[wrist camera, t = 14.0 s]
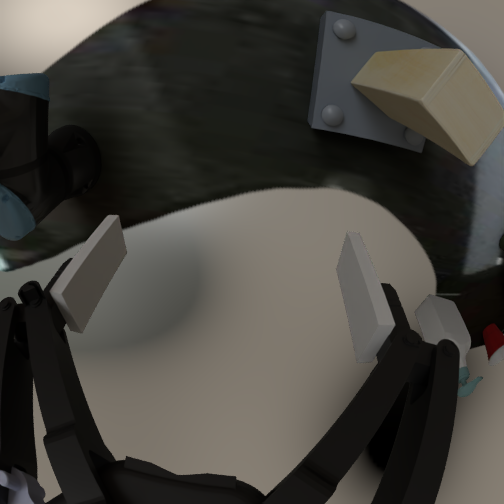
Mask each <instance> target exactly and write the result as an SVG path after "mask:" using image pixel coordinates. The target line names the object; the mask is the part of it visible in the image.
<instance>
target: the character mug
mask: <svg viewBox="0 0 504 504" xmlns="http://www.w3.org/2000/svg"><path fill="white" fill-rule="evenodd" d="M500 248H501V249H502V250H503V251H504V235H503V237H502V238H501V240H500Z"/></svg>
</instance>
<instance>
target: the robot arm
mask: <svg viewBox="0 0 504 504" xmlns="http://www.w3.org/2000/svg"><path fill="white" fill-rule="evenodd" d="M49 102H50V98H49V78H48V77H47V76H46V75H45V74H43V73H32V74H17V75H7V76H0V235H1V236H2V237H4V238H6V239H8V240H19V239H21V238H23V237H24V236H25V235H26V234H27V233H28V232H30V231H32V230H33V229H34V228H35V227H36V226H37V225H38V224H39V223H40V222H41V221H42V220H43V219H44V218H45V217H46V216H47V215H48V214H49V213H50V212H51V211H52V210H53V209H55V208H56V207H57V206H58V205H59V204H60V203H61V202H62V201H63V200H67V199H70V198H73V197H77V196H80V195H82V194H84V193H86V192H87V191H88V190H89V189H90V188H92V187H93V186H94V184H95V183H96V182H97V180H98V177H99V174H100V170H101V159H100V153H99V150H98V147H97V145H96V143H95V141H94V139H93V138H92V137H91V135H90V134H89V133H88V132H87V131H85V130H84V129H82V128H81V127H78V126H75V125H66V126H63V127H61V128H59V129H57V130H55V131H53V132H52V133H51V134H50V135H49V136H48V106H49ZM126 254H127V251H126V246H125V242H124V238H123V233H122V228H121V224H120V219H119V215H108V216H107V217H106V218H105V219H104V220H103V222H102V223H101V224H100V225H99V226H98V228H97V229H96V230H95V231H94V232H93V234H92V235H91V236H90V237H89V239H88V240H87V241H86V242H85V244H84V245H83V246H82V247H81V249H80V250H79V251H78V253H77V254H76V255H75V257H74V258H70V259H68V260H67V261H66V262H64V263H63V264H62V266H61V267H60V268H59V270H58V271H57V272H56V274H55V276H54V277H53V278H52V279H51V281H50V282H49V283H48V285H47V286H46V288H45V289H44V291H43V290H42V289H41V286H40V284H39V283H38V282H37V281H29V282H27V283H25V284H24V285H23V286H22V287H21V288H20V290H19V292H18V296H19V297H20V299H21V301H22V304H17V303H16V301H15V300H14V298H12V297H7V298H5V299H3V300H2V301H1V302H0V504H325V503H326V502H327V501H328V499H329V498H330V497H331V496H332V495H333V493H334V492H335V490H336V487H337V485H338V483H339V482H340V480H341V479H342V478H343V477H344V475H345V474H346V473H347V472H348V470H349V469H350V468H351V466H352V465H353V464H354V462H355V461H356V460H357V458H358V457H359V455H360V454H361V453H362V451H363V450H364V449H365V447H366V446H367V444H368V443H369V441H370V440H371V439H372V437H373V435H374V434H375V432H376V431H377V429H378V428H379V426H380V425H381V423H382V422H383V420H384V418H385V417H386V415H387V413H388V412H389V410H390V408H391V407H392V405H393V403H394V401H395V400H396V398H397V396H398V395H399V393H400V391H401V389H402V387H403V385H404V383H405V382H410V386H409V391H408V396H407V399H406V404H405V408H404V411H403V416H402V419H401V423H400V427H399V430H398V433H397V436H396V440H395V443H394V446H393V449H392V452H391V455H390V458H389V461H388V463H387V466H386V469H385V472H384V474H383V477H382V479H381V482H380V484H379V487H378V489H377V492H376V494H375V496H374V499H373V501H372V503H371V504H434V503H435V500H436V497H437V494H438V491H439V488H440V484H441V481H442V477H443V473H444V470H445V466H446V461H447V457H448V452H449V448H450V442H451V437H452V431H453V426H454V418H455V412H456V403H457V394H458V383H459V366H460V352H459V348H458V347H457V345H456V344H455V343H454V342H453V341H451V340H449V339H442V340H440V341H439V342H438V344H437V345H435V344H431V343H428V342H424V341H422V338H421V337H420V336H419V334H418V333H416V332H415V331H414V330H411V329H410V326H409V323H408V321H407V318H406V315H405V313H404V310H403V308H402V307H401V302H400V301H399V297H398V295H397V292H396V290H395V289H394V288H393V287H392V286H391V285H390V284H386V283H380V281H379V278H378V276H377V273H376V271H375V268H374V266H373V263H372V261H371V258H370V256H369V253H368V251H367V249H366V246H365V244H364V242H363V239H362V237H361V235H360V233H357V232H348V231H347V233H346V237H345V241H344V244H343V248H342V251H341V255H340V258H339V262H338V265H337V269H336V270H337V274H338V278H339V282H340V287H341V291H342V294H343V299H344V304H345V308H346V312H347V317H348V322H349V326H350V331H351V336H352V340H353V345H354V351H355V356H356V361H357V363H369V362H372V361H373V359H374V358H375V357H376V356H377V360H378V364H377V365H376V366H375V368H374V369H373V371H372V372H371V373H370V376H369V377H368V378H367V380H366V381H365V383H364V384H363V386H362V387H361V389H360V390H359V391H358V393H357V394H356V396H355V397H354V398H353V400H352V401H351V402H350V404H349V405H348V407H347V408H346V409H345V410H344V412H343V413H342V414H341V415H340V417H339V418H338V419H337V421H336V422H335V423H334V424H333V425H332V427H331V428H330V429H329V430H328V432H327V433H326V434H325V435H324V436H323V438H322V439H321V440H320V441H319V442H318V443H317V444H316V446H315V447H314V448H313V449H312V450H311V451H310V452H309V454H308V455H307V456H306V457H305V458H304V459H303V460H302V461H301V462H300V463H299V464H298V465H297V466H296V468H294V469H293V470H292V472H290V473H289V474H288V475H287V477H285V478H284V479H283V480H282V481H281V482H280V483H279V484H278V485H277V486H276V487H275V488H274V489H273V490H271V491H270V492H269V493H268V494H267V495H266V496H264V494H262V493H261V492H260V491H259V490H258V489H256V488H255V487H253V486H251V485H249V484H247V483H245V482H242V481H239V480H236V476H226V475H217V474H208V473H206V474H193V475H176V474H174V473H171V472H169V471H167V470H165V469H163V468H161V467H159V466H157V465H155V464H152V463H150V462H146V461H142V460H139V459H135V458H131V457H128V456H126V459H125V460H119V461H116V460H115V458H114V457H113V455H112V453H111V452H110V451H109V450H108V448H107V447H106V446H105V444H104V442H103V440H102V438H101V435H100V433H99V431H98V428H97V426H96V424H95V421H94V419H93V417H92V414H91V411H90V409H89V406H88V404H87V401H86V398H85V396H84V393H83V390H82V387H81V384H80V381H79V378H78V375H77V372H76V368H75V365H74V362H73V358H72V355H71V351H70V347H69V344H68V340H67V336H66V332H65V330H64V326H65V324H66V323H67V325H68V327H69V329H70V330H71V331H74V332H78V333H83V331H84V329H85V327H86V325H87V323H88V321H89V319H90V317H91V315H92V313H93V311H94V310H95V307H96V306H97V304H98V302H99V300H100V298H101V297H102V295H103V293H104V291H105V289H106V288H107V286H108V284H109V282H110V281H111V279H112V277H113V275H114V274H115V272H116V270H117V269H118V267H119V265H120V264H121V262H122V260H123V259H124V257H125V255H126ZM33 378H34V383H35V388H36V393H37V396H38V401H39V406H40V410H41V414H42V417H43V421H44V424H45V428H46V432H47V434H46V435H45V436H44V439H43V441H44V446H45V449H46V452H47V455H48V458H49V460H50V463H51V466H52V468H53V471H54V474H55V476H56V478H57V481H58V483H59V486H60V488H61V490H62V493H61V494H60V495H58V496H56V497H55V498H53V499H52V500H50V501H49V502H47V503H45V502H44V500H43V498H44V497H45V491H44V489H43V488H42V487H41V486H40V484H39V483H38V481H37V458H36V449H35V438H34V423H33Z"/></svg>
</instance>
